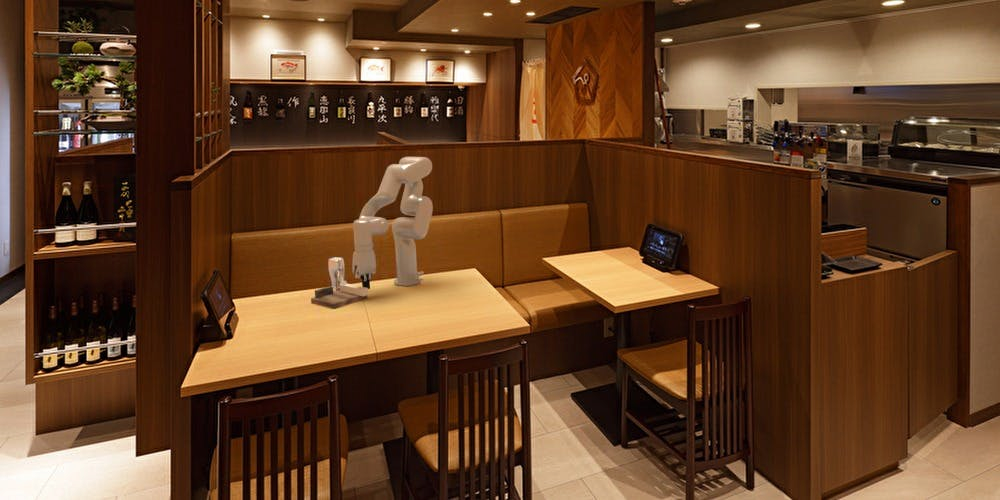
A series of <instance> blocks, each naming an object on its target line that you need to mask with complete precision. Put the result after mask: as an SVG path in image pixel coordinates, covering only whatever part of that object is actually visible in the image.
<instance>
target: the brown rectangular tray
mask: <svg viewBox="0 0 1000 500" xmlns="http://www.w3.org/2000/svg"><path fill="white" fill-rule="evenodd" d="M365 299H368V295H366V296H359V295H355V294H351V293H346V292H342V291H340V290H337V291H334V292H333V287H332V285H329V286H326V287H325V286H324V287H322V288H319V289H316V290H315V289H314V297H311V298H310V300H311V301H310V302H311V304H314V305H318V306H322V307H326V308H330V309H334V310H335V309H337V308H341V307H344V306H346V305H349V304H353V303H356V302H358V301H362V300H365Z"/></svg>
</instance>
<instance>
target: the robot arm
mask: <svg viewBox="0 0 1000 500" xmlns="http://www.w3.org/2000/svg"><path fill="white" fill-rule="evenodd" d="M432 170H433V163H432V160H431V159H430V158H429V157H424V156H405V157H404V156H403V157H402V158H401V159H399V162H398V164H397V163H392V164H390V165H388V166H387V168H386V170H385V172H384V175H383V177H382V181H381V183H380V186H379V188H378V190H377V192H376V194H375V195H374V196H372V197H371V198H370V199H369V200H368V202H366V203H365V205H364V206H363V208H362V209H361V212H360V214H359V218H358V219H355V220H354V221H353V223H352V224H353V239H354V240H353V241H354V251H353V253H352V273H353V275H354V278H356V279H360V281H361V285H362V286H361V287H366V288H368V290H371V282H370V281H371V280H372V276H373V275H375V274H376V270H377V260H376V254H375V251H374V242H373V236H374V235H375V236H376V235H379V236H380V235H384V234H385V233H387V232H388V230H389V228H390V224H389V222H388V220H387V219H386V218H385V217H379V216H375V215H376V213H377V212H378V211H379V210H380V209H382V208H383V207H386V206H388V205H390V204H392V203H394V202H395V201H396V199H397V197H398V194H399V192H400V189H401V187H402V184H404V190H403V194H402V198H401V201H400V212H401V213H402V214H404V215H406V216H413V217H406V216H405V217H404V216H403V217H402V216H401V217H397V218H395V219H394V220H393V222H392V224H391V231H392V234H393V235H392V236H393V240H394V246H395V248H394V249H395V262H396V263H395V265H396V266H395V267H396V279H395V280H393V284H394V285H396V286H400V287H411V286H416V285H419V284H420V283H421V282H422V280H421V278H420V277H421V276H423V275H424V274H425V273H424V271H423V270H422V271H418V267H417V266H418V264H417V250H416V249H417V247H416V243H415V240H422V239H424V238H425V237H426V236H427V234H428V232H429V231H428V230H429V227H430V223H431V219H432V215H433V211H434V210H433V201H432V200H431V198H430V197H428V196H426V195H425V196H424V195H423V190H424V184H423V181H422V180H423V178H426V177H428V176H429V174H430V173H431V172H432Z"/></svg>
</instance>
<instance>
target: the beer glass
mask: <svg viewBox="0 0 1000 500" xmlns="http://www.w3.org/2000/svg"><path fill="white" fill-rule="evenodd" d="M327 263H328V272H329V278H330V279H331V281H330V282H331V287H333V292H334V291H337V290H340V284H342V281H345V269H346V268H345V261H344V258H343V257H341V256H340V257H339V256H337V257H336V256H335V257H330V258H328V262H327Z"/></svg>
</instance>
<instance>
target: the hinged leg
mask: <svg viewBox="0 0 1000 500" xmlns="http://www.w3.org/2000/svg"><path fill="white" fill-rule="evenodd" d="M340 291H342V292H346V293H351V294H355V295H359V296H366V295H367V296H368V295H369V289H368V288H366V287H362V286H359V285H356V284H350V283H348V282H347V280H344V281H342V284H340Z"/></svg>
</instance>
